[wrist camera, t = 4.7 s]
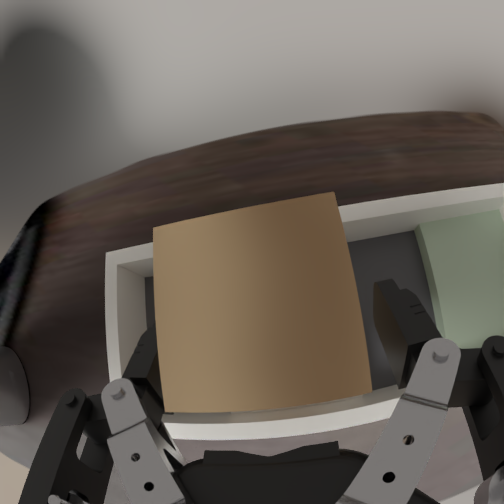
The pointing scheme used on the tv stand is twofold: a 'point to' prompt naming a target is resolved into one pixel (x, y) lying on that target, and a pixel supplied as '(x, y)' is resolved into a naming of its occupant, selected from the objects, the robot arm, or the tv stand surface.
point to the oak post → (258, 309)
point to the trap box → (366, 273)
